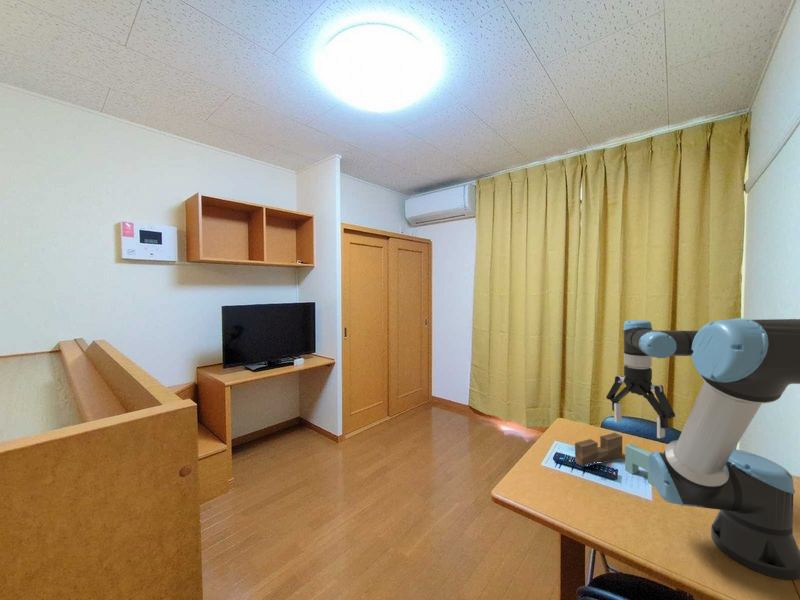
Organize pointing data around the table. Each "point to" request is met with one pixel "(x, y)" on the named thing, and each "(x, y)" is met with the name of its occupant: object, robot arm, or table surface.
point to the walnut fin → (599, 449)
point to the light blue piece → (637, 460)
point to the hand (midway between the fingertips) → (638, 428)
